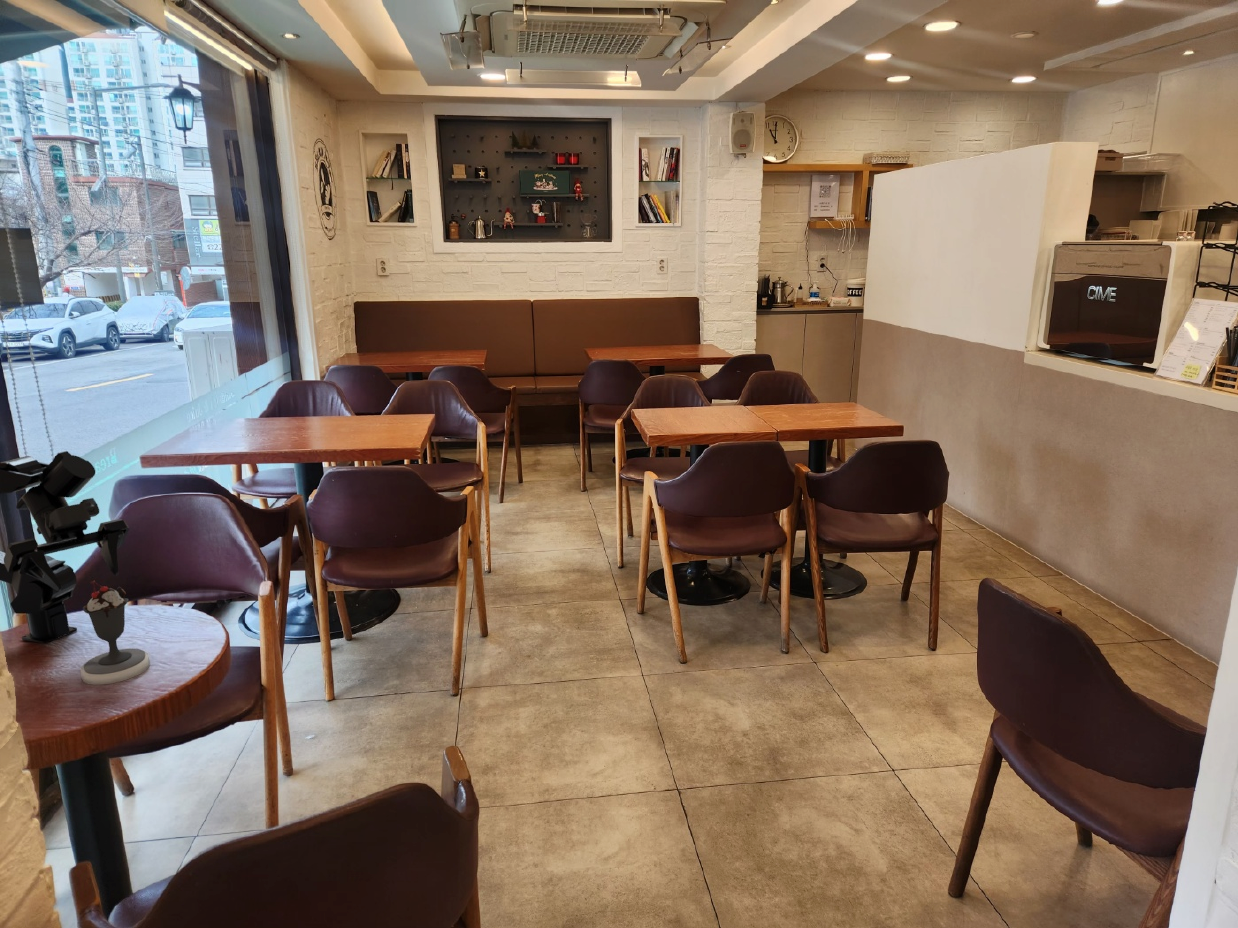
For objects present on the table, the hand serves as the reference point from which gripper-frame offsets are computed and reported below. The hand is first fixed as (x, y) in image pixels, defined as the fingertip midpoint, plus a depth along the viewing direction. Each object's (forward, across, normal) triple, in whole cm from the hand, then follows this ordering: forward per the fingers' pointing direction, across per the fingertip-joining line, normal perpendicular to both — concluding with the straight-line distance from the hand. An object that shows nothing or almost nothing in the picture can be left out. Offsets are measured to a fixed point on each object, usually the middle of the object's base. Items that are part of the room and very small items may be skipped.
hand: (89, 581), depth 140 cm
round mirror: (+17, -2, +2) cm, 17 cm away
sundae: (+16, -2, +1) cm, 16 cm away
